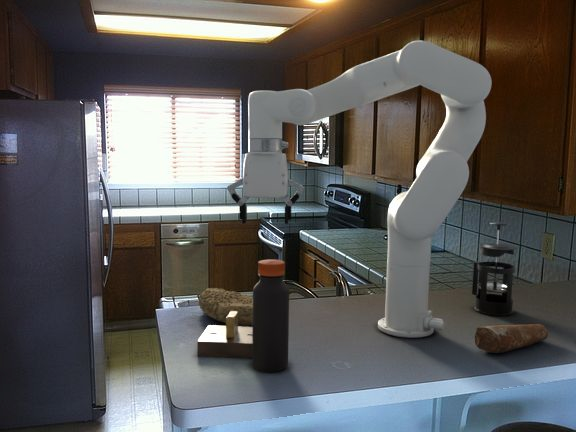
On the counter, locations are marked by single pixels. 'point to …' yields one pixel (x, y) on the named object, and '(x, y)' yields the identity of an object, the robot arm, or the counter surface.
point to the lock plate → (225, 342)
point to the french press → (495, 302)
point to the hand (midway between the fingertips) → (265, 222)
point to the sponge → (227, 305)
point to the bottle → (270, 318)
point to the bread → (509, 337)
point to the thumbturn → (231, 324)
